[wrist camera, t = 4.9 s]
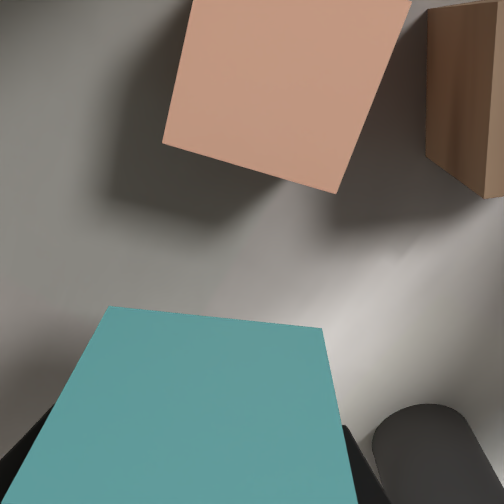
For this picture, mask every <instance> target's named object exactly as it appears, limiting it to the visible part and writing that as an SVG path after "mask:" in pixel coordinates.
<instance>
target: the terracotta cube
mask: <svg viewBox="0 0 504 504" xmlns="http://www.w3.org/2000/svg"><path fill="white" fill-rule="evenodd" d="M411 3H412V2H411V1H408V0H193V3H192V8H191V12H190V17H189V22H188V26H187V31H186V35H185V40H184V44H183V49H182V54H181V58H180V63H179V67H178V72H177V76H176V81H175V86H174V90H173V95H172V99H171V104H170V108H169V113H168V118H167V122H166V127H165V131H164V136H163V141H162V143H163V144H167V145H170V146H174V147H177V148H180V149H184V150H187V151H191V152H194V153H197V154H201V155H204V156H208V157H211V158H214V159H218V160H221V161H225V162H228V163H231V164H235V165H238V166H242V167H245V168H248V169H252V170H255V171H259V172H262V173H265V174H269V175H272V176H276V177H279V178H282V179H286V180H289V181H293V182H296V183H299V184H303V185H306V186H310V187H313V188H316V189H320V190H323V191H327V192H330V193H333V194H336V193H337V191H338V188H339V186H340V183H341V181H342V178H343V176H344V173H345V170H346V168H347V165H348V163H349V160H350V158H351V155H352V153H353V150H354V148H355V145H356V143H357V140H358V138H359V135H360V133H361V130H362V127H363V125H364V122H365V120H366V117H367V115H368V112H369V110H370V107H371V105H372V102H373V100H374V97H375V95H376V92H377V89H378V87H379V84H380V82H381V79H382V77H383V74H384V72H385V69H386V67H387V64H388V62H389V59H390V57H391V54H392V52H393V49H394V46H395V44H396V41H397V39H398V36H399V34H400V31H401V29H402V26H403V24H404V21H405V19H406V16H407V14H408V11H409V9H410V6H411Z"/></svg>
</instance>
